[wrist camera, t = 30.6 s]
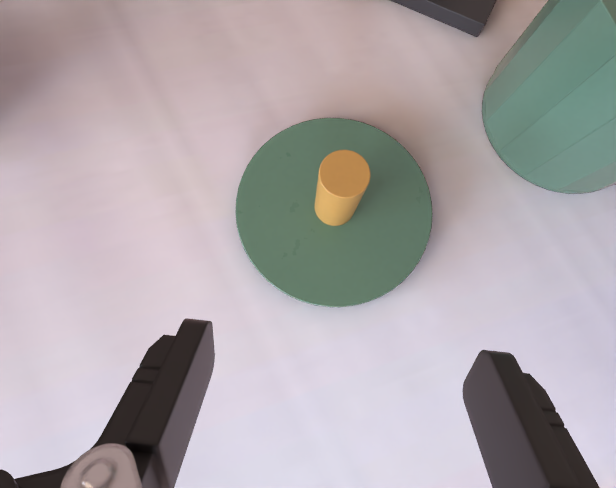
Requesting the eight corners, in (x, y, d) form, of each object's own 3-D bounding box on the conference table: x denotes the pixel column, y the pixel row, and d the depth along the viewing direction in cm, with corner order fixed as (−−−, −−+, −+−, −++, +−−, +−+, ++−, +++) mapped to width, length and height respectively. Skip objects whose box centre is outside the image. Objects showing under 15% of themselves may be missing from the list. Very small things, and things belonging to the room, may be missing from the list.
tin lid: (203, 253, 24) (166, 229, 17) (291, 98, 26) (288, 25, 20) (380, 342, 23) (413, 352, 16) (453, 173, 25) (508, 122, 19)
